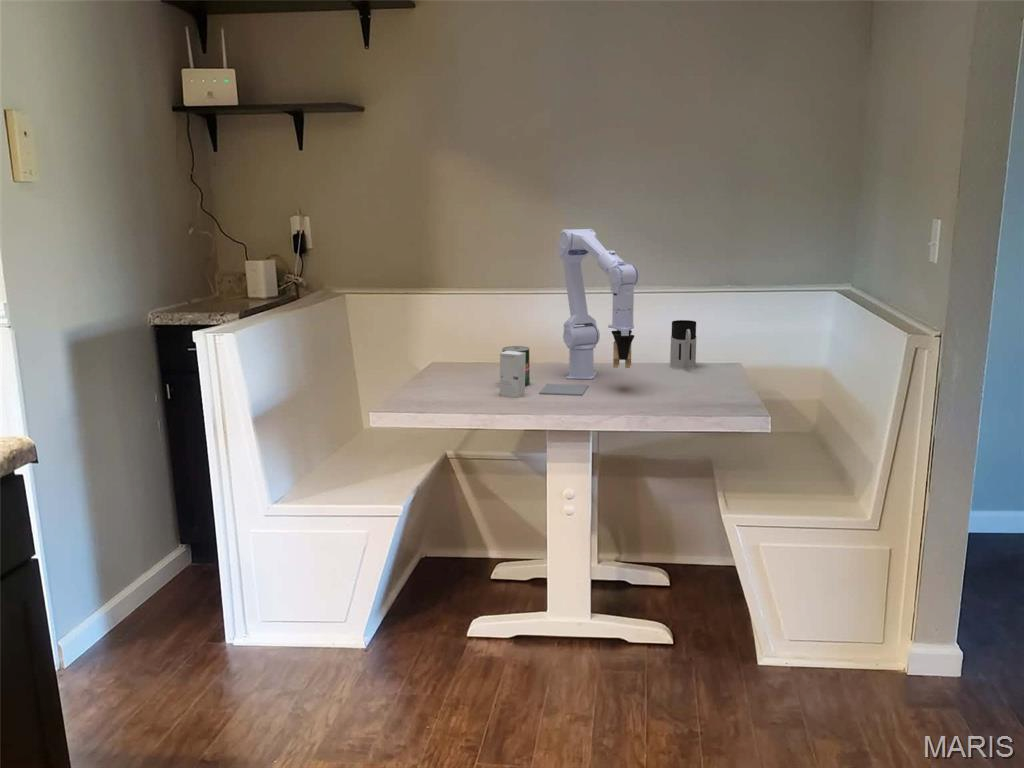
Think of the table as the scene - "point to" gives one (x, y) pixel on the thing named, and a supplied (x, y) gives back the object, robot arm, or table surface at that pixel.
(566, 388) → the slate mat
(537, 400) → the table surface
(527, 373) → the canned tomato
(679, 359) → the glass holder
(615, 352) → the notched wooden block
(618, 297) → the robot arm
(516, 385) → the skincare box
